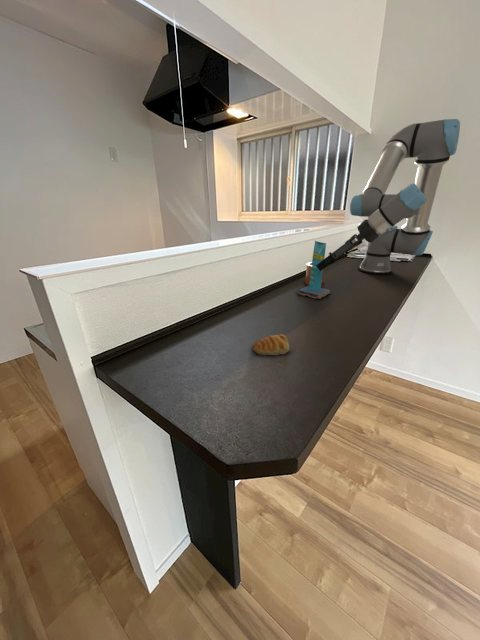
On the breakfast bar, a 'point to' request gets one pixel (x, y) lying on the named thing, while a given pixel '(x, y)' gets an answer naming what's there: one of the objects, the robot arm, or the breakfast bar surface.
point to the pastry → (272, 345)
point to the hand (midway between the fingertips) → (324, 264)
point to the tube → (315, 272)
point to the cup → (308, 272)
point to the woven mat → (313, 292)
